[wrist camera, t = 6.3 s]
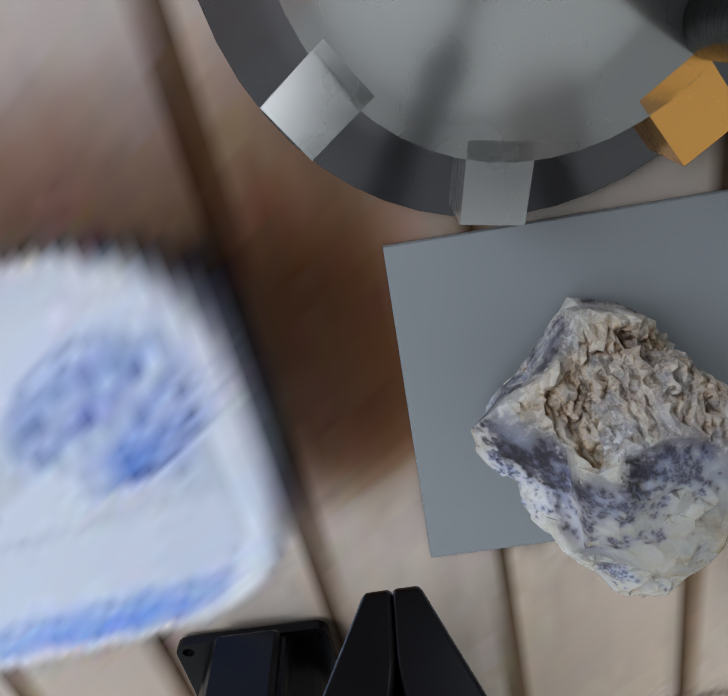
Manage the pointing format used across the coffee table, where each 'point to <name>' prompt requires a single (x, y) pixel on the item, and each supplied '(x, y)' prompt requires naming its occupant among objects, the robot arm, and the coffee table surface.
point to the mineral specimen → (615, 447)
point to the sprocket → (507, 83)
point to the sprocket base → (385, 149)
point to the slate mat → (536, 332)
